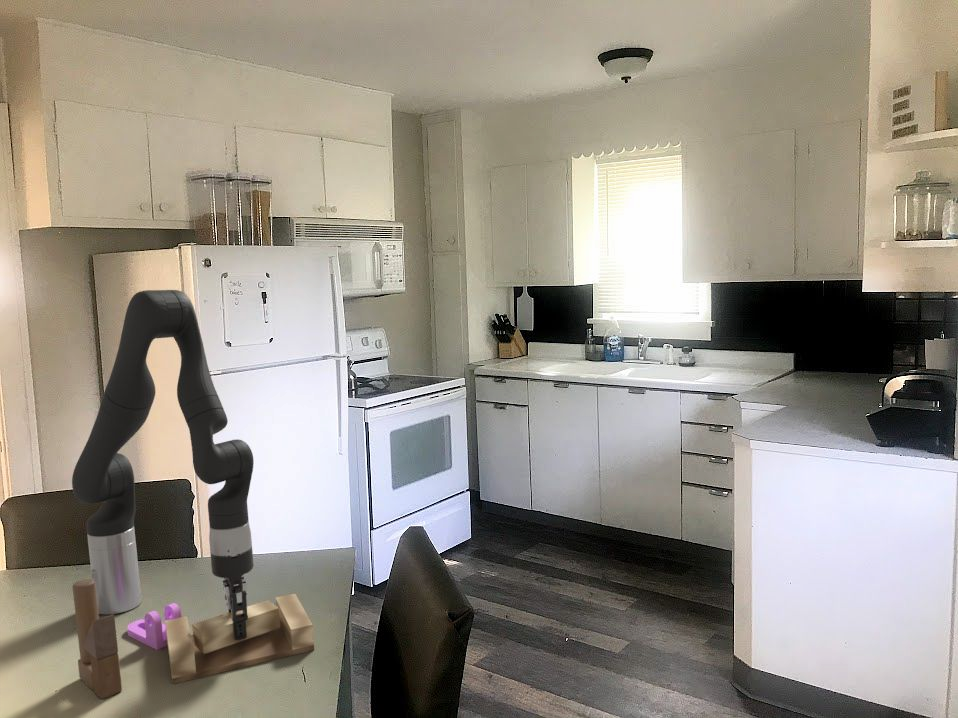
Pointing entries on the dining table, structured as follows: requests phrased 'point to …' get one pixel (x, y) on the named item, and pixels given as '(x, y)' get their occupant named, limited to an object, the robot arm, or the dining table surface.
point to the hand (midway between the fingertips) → (238, 631)
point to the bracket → (153, 627)
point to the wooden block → (96, 642)
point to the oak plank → (221, 627)
